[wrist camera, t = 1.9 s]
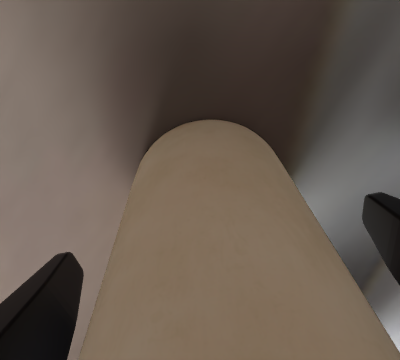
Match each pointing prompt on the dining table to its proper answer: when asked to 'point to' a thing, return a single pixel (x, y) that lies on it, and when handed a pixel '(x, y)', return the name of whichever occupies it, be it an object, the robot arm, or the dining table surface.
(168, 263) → the candle
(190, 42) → the dining table surface
